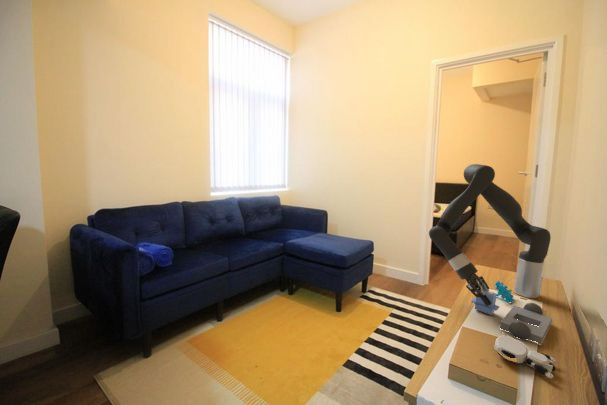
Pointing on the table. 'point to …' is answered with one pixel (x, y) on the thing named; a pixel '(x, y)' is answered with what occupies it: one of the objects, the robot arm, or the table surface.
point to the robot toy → (525, 355)
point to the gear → (504, 292)
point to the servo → (481, 305)
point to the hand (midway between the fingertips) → (491, 302)
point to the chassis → (527, 315)
